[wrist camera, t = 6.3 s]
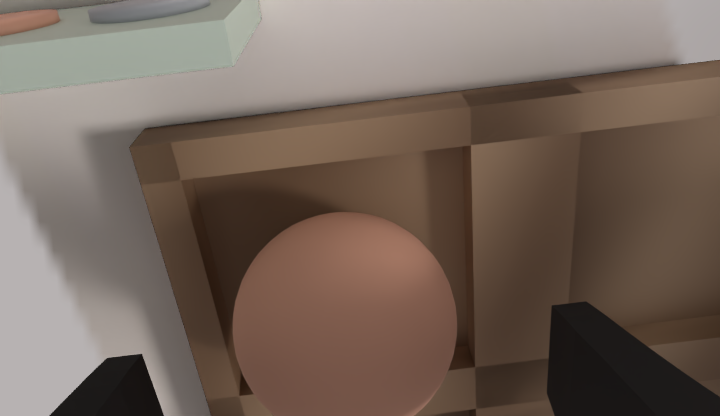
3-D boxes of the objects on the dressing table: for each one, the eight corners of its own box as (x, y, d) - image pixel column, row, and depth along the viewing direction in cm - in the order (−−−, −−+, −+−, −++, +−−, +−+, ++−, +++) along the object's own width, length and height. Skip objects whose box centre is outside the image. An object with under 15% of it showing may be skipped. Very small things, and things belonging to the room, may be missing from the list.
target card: (254, -23, 11) (220, 7, 7) (261, 19, 11) (233, 66, 8) (-21, 9, 11) (-190, 55, 7) (-5, 50, 11) (-159, 113, 8)
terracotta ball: (428, 164, 13) (482, 275, 9) (437, 325, 15) (485, 475, 11) (226, 190, 12) (188, 315, 9) (263, 348, 14) (246, 509, 10)
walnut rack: (873, 41, 12) (922, 52, 11) (739, 498, 19) (762, 529, 18) (144, 128, 12) (129, 147, 11) (268, 556, 19) (265, 591, 18)
